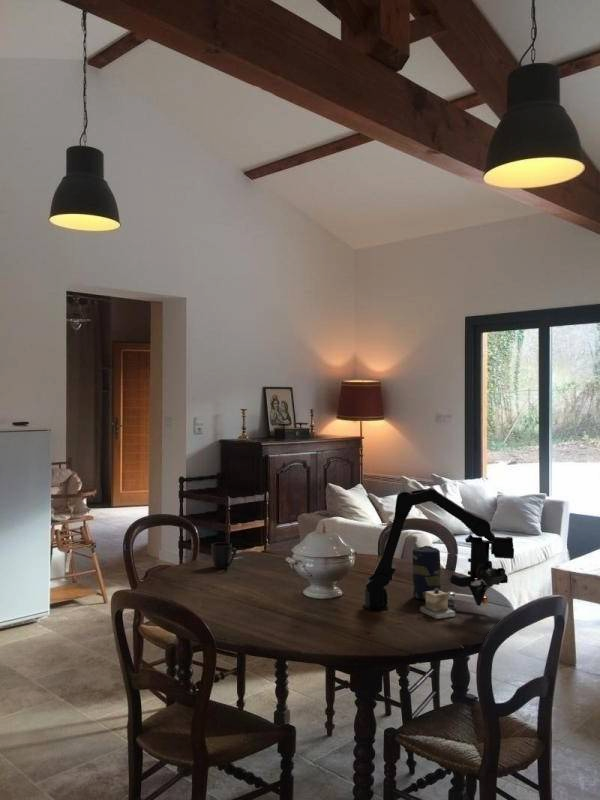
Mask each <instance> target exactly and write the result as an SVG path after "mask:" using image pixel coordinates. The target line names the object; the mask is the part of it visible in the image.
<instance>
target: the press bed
mask: <svg viewBox="0 0 600 800" xmlns="http://www.w3.org/2000/svg"><path fill="white" fill-rule="evenodd" d="M420 612H422V613H423V614H426V615H427V616H429V617H432V618H434V619H435V620H438V619H439V620H440V619H446V618H453V617H456V611H455V610H454V609H448V610H440V611H433V610H431V609H429V608H427V607H426V605H422V606H420Z"/></svg>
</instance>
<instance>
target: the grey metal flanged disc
mask: <svg viewBox="0 0 600 800" xmlns="http://www.w3.org/2000/svg"><path fill="white" fill-rule="evenodd" d="M455 601H456V600H448V609H450V610H457V609H458V605H457V604H455Z"/></svg>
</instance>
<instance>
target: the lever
mask: <svg viewBox="0 0 600 800" xmlns="http://www.w3.org/2000/svg"><path fill="white" fill-rule="evenodd" d="M445 593H447V594H448V600H455V601H460V602H461V601H462V602H468V603H469V602H470V603H475V604H476V601H475V599H474V597H473V594H472V595H471V594H463V593H456V592H455V591H446V592H445ZM489 601H490V600H489V598H488V597H487V596H486V595H484V597H483V600H482V602H481V604H483V605H488V603H489Z"/></svg>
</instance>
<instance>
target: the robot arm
mask: <svg viewBox="0 0 600 800" xmlns="http://www.w3.org/2000/svg"><path fill="white" fill-rule="evenodd" d="M429 502H431V503H433V504H434V505H436V506H438V508H441V510H443V511H444V512H447V513H448V514H449V515H451V516H452V517H454V518H456V519H457V520H458V521H460V522H461V523H463V525H465V527H467V529H469V531H470V532H471V533H473V535H475V536H473V535H472V534H468V536H467V537H465V538H464V540H465V542H466V543H468V544H469V543H470V557H469V558H467V562H468V563H470V565H469V566H470V568H469V569H470V570H468V571H467V575H466V574H463V573H455V574H454V573H453V574H452V575H450V584H453V585H455V586H457V587H459V588H460V587H461V588H465V587H467V588H469V590H470V592H471V594H472V595H473V597H474V599H475V601H476V603H475V605H477V606H478V607H480V606H481V604H482V603H481V602H482V600H483V597H484V596H485V594H486V592H487V590H488V589H489V588H491V587H493V586H495V585H497V586H499V585H500V584H508V581H509V578H508V575H507V573H506V569H504V568H503V567H498V568H494V567H493V562H492V560H490V553H491V555H493V556H494V558H495V559H510V560H513V559H514V555H515V547H514V538H513V537H512V536H505V537H504V536H496V535H495V533H494V532H492V530H491V529H492V528H491V524H490V522H489V521H488V519H487V518H486V517H485V516H482V515H480V514H478V513H474V512H472V511H469V510H467V509H465V508H463V507H462V506H461V505H459V504H458V503H455V502H454V501H453V500H451V499H450V498H449V497H446V496H445V495H443V494H442V493H440V492H439V491H437V489H435V488H434V487H429V488H425V489H416V490H412V491H411V490H409V489H402V490H400V491H399V492H398V493H397V496H396V500H395V507H394V508H395V509H394V516H393V520H392V524H391V527H390V531H389V533H388V536H387V540H386V543H385V546H384V549H383V553H382V555H381V557H380V559H379V561H378V563H377V564H376V566H375V568H374V570H373V574H372V575H371V576H370V577H369V578H368V579H367V582H366V584H365V588H364V590H365V591H364V594H365V595H364V599H365V600H364V603H363V604H362V606H363V607H364V608H366V609H368V610H369V611H371V612H373V611H381V610H382V611H383V610H389V609H390V608H389V607H390V606H388V593H387V589H386V586H388V585H389V584H390V581H391V582H392V581H393V578H394V573H395V572H396V569H397V565H396V564H393V561H394V557H395V553H396V550H397V547H398V544H399V541H400V537H401V534H402V531H403V528H404V524H405V521H406V519H407V517H408V515H409V514H410V512H411V510H412V508H413V507H414V506H416V505H417V506H418V505H421V504H424V503H429Z"/></svg>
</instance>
